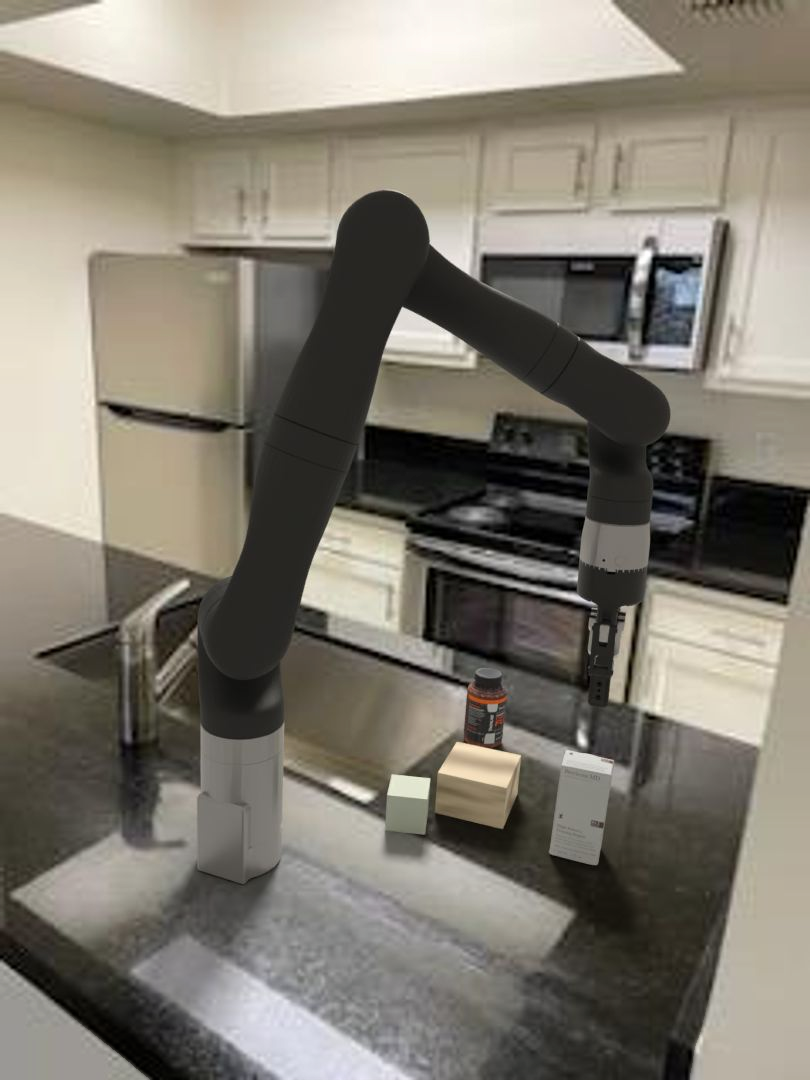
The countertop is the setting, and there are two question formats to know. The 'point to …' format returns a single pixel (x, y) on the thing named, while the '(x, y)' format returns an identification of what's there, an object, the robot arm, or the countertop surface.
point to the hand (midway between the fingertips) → (600, 690)
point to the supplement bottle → (485, 709)
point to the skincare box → (581, 807)
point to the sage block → (407, 804)
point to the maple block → (478, 784)
